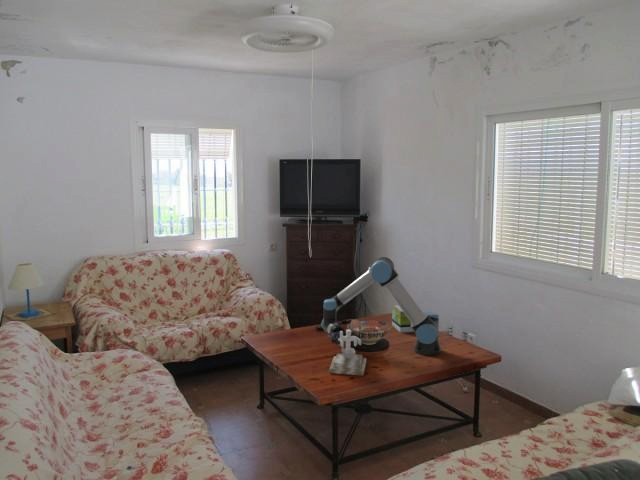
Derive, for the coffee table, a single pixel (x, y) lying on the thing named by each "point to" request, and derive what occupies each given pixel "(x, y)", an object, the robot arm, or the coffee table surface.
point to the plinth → (346, 370)
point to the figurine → (348, 344)
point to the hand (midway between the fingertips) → (351, 343)
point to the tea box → (400, 320)
